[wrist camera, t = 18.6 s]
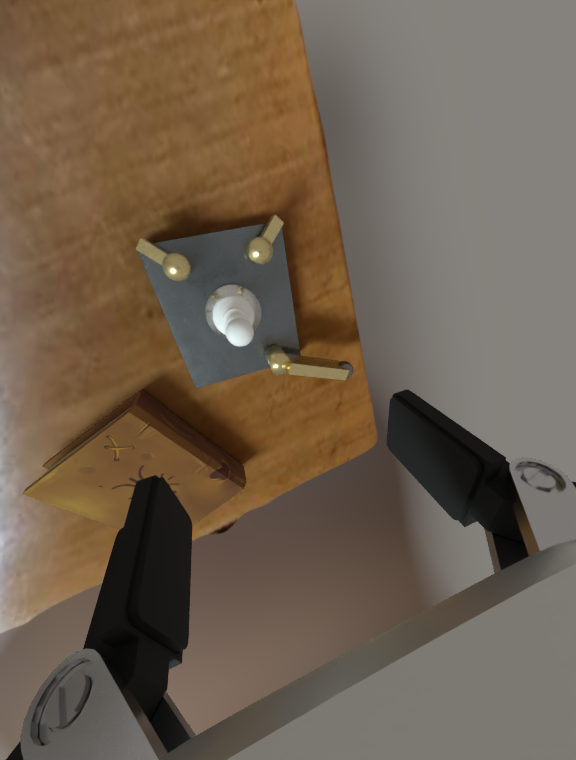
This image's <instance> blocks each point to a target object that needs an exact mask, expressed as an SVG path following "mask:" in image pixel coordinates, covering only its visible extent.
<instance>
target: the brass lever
mask: <svg viewBox="0 0 576 760" xmlns="http://www.w3.org/2000/svg"><path fill="white" fill-rule="evenodd" d="M265 358H266V360H267V362H268V364H269V366H270V368H271V370H272V371H273V373H275V374H277V375H283V374H286V373H288V374H290V375H300V376H310V377H320V378H329V379H339V380H346V379H348V378H350V377H351V375H352V374H353V367H352V365H351V364H350V363H349V362H347V361H341V362H339V361H337V360H329V359H322V358H315V357H307V356H300V355H293V354H285V352H284V351H283V350H282V348H281V347H280V346H277V345H272V346H270V347H268V348H267V350H266V351H265Z"/></svg>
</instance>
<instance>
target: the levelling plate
mask: <svg viewBox="0 0 576 760" xmlns="http://www.w3.org/2000/svg"><path fill="white" fill-rule="evenodd" d="M283 224H284V222H283V221H282V220H280V219H279V218H278V217H277V216H276V215H273V216H271V218H270V219H269V221H268V223H265V224H259V225H253V226H248V227H242V228H237V229H231V230H225V231H220V232H214V233H208V234H203V235H197V236H191V237H186V238H180V239H174V240H169V241H163V242H157V243H151V242H150V241H148V240H147V239H145V238H140V241H139V243H138V245H137V246H136V250H137V251H138V253H139V255H140V258H141V260H142V262H143V265H144V267H145V269H146V272H147V274H148V276H149V279H150V281H151V284H152V286H153V288H154V291H155V293H156V295H157V298H158V300H159V302H160V305H161V307H162V309H163V312H164V314H165V316H166V319H167V321H168V323H169V326H170V328H171V330H172V333H173V335H174V338H175V340H176V342H177V345H178V347H179V349H180V352H181V354H182V356H183V359H184V361H185V363H186V366H187V368H188V370H189V373H190V375H191V377H192V380H193V382H194V384H195V387H196V388H199V387H203V386H206V385H210V384H213V383H217V382H220V381H224V380H227V379H231V378H234V377H238V376H241V375H245V374H249V373H252V372H256V371H259V370H263V369H266V368H270V366H269V364H268V362H267V360H266V358H265V351H266V350H267V348H268V347H270V346H272V345H277V346H280V347H281V348H282V350H283V351H284V352H285V354H293V355H300V348H299V341H298V334H297V328H296V321H295V314H294V307H293V300H292V293H291V286H290V279H289V272H288V266H287V259H286V252H285V245H284V238H283V231H282V226H283ZM228 294H236V295H239V296H242V297H243V298H245V299H246V300H247V301H248V302H249V303H250V305H251V307H252V309H253V311H254V322H253V326H252V327H253V330H254V336H253V339H252V341H251V342H250V343H249V344H247V345H245V346H235V345H233V344H231V343H230V342H229V341H228V339H227V337H226V335H225V334H223V333H221V332H220V331H219V330H218V329H217V327H216V326H215V324H214V321H213V307H214V305H215V303H216V301H217V300H218V299H219V298H220V297H222V296H224V295H228ZM300 356H301V355H300Z"/></svg>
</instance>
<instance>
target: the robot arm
mask: <svg viewBox="0 0 576 760" xmlns="http://www.w3.org/2000/svg"><path fill="white" fill-rule="evenodd" d="M387 446H388V448H389V450H390V451H391V452H392V453H393V454H394V455H395V457H396V458H397V459H398V460H399V461H400V462H401V463H402V464H403V465H404V466H405V467H406V468H407V470H408V471H409V472H410V473H411V474H412V475H413V476H414V477H415V478H416V479H417V480H418V482H419V483H420V484H421V485H422V486H423V487H424V488H425V489H426V490H427V491H428V493H430V494H431V496H432V497H433V498H434V499H435V500H436V501H437V502H438V503H439V505H440V506H441V507H442V508H443V509H444V510H445V511H446V512H447V513H448V514H449V515H450V516H451V517H452V518H453V519H454V520H459V522H460V523H462V525H463V526H464V527H466V526H468V525H470V524H472V523H474V522H476V521H478V522H479V523H480V524H481V525H482V526H483V527H484V529H485V534H486V538H487V542H488V547H489V551H490V556H491V560H492V565H493V569H494V573H495V574H493V575H491V576H489V577H487V578H486V579H484V580H482V581H480V582H478V583H476V584H474V585H472V586H471V587H469V588H467V589H465V590H463V591H461V592H459V593H458V594H455V595H454V596H452V597H450V598H448V599H446V600H444V601H442V602H440V603H439V604H436V605H435V606H433V607H431V608H429V609H427V610H425V611H424V612H422V613H420V614H418V615H416V616H414V617H412V618H410V619H408V620H407V621H405V622H403V623H401V624H399V625H397V626H395V627H393V628H392V629H390V630H388V631H386V632H384V633H382V634H380V635H379V636H377V637H375V638H373V639H371V640H369V641H368V642H366V643H364V644H362V645H360V646H358V647H356V648H354V649H353V650H351V651H349V652H347V653H345V654H343V655H341V656H340V657H338V658H336V659H334V660H332V661H330V662H328V663H327V664H325V665H323V666H321V667H319V668H317V669H316V670H314V671H312V672H310V673H308V674H306V675H304V676H303V677H301V678H299V679H297V680H295V681H294V682H292V683H290V684H288V685H286V686H284V687H283V688H281V689H279V690H277V691H275V692H274V693H271V694H270V695H268V696H266V697H264V698H262V699H260V700H258V701H257V702H255V703H253V704H251V705H249V706H248V707H246V708H244V709H242V710H240V711H239V712H237V713H235V714H234V715H232V716H230V717H228V718H227V719H225V720H223V721H221V722H219V723H218V724H216V725H214V726H212V727H211V728H209V729H207V730H205V731H204V732H202V733H200V734H198V735H197V736H196V734H195V733H194V731H193V730H192V728H191V727H190V725H189V724H188V723H187V721H186V720H185V718H184V717H183V715H182V714H181V713H180V711H179V709H178V708H177V706H176V705H175V703H174V702H173V700H172V699H171V698H170V696H169V695H168V693H167V692H166V690H167V684H168V672H169V669H171V668H172V667H175V666H177V665H179V664H181V663H182V651H183V650H184V649H186V647H187V645H188V637H189V607H190V578H191V549H192V521H191V518H190V516H189V515H188V513H187V512H186V510H185V509H184V507H183V506H182V504H181V503H180V501H179V500H178V498H177V497H176V495H175V494H174V492H173V491H172V489H171V488H170V486H169V485H168V483H167V482H166V480H165V479H164V478H163V477H160V478H159V477H158V476H157V475H153V476H150V477H148V478H145V479H142V480H139V481H137V482H136V485H135V488H134V492H133V495H132V499H131V502H130V506H129V510H128V513H127V517H126V521H125V524H124V527H123V528H121V529H120V530H119V532H118V534H117V536H116V539H115V542H114V546H113V549H112V552H111V556H110V559H109V563H108V566H107V569H106V573H105V576H104V580H103V583H102V587H101V590H100V594H99V597H98V600H97V604H96V607H95V610H94V614H93V617H92V621H91V624H90V628H89V631H88V634H87V638H86V641H85V645H84V648H83V650H80V651H77V652H75V653H74V654H72V655H71V656H69V657H68V658H66V659H65V660H64V661H63V662H62V663H61V664H60V665H59V666H58V667H57V668H56V669H55V670H53V672H52V673H51V674H50V675H49V677H48V678H47V679H46V680H45V682H44V683H43V684H42V686H41V687H40V689H39V691H38V692H37V694H36V696H35V697H34V699H33V701H32V703H31V705H30V707H29V710H28V712H27V715H26V717H25V719H24V723H23V727H22V732H21V736H20V739H21V741H20V742H19V744H18V745H17V746H16V748H15V749H14V750H13V751H12V753H11V754H10V755H9V757H8V758H7V759H6V760H576V482H572V481H571V480H570V479H569V478H568V477H567V475H565V474H564V473H563V472H562V471H561V470H559V469H558V468H556V467H554V466H552V465H550V464H548V463H546V462H543V461H541V460H537V459H533V458H524V457H522V458H517V459H514V460H513V461H511V463H509V462H507V461H506V457H504V456H503V455H501V454H500V453H498V452H497V451H496V450H494V449H493V448H491V447H490V446H489V445H487V444H486V443H484V442H483V441H481V440H480V439H479V438H477V437H476V436H474V435H473V434H471V433H470V432H469V431H467V430H466V429H464V428H463V427H461V426H460V425H459V424H457V423H456V422H454V421H453V420H451V419H450V418H448V417H447V416H446V415H444V414H443V413H441V412H440V411H438V410H437V409H436V408H434V407H433V406H431V405H430V404H428V403H427V402H426V401H424V400H423V399H421V398H420V397H418V396H417V395H416V394H414V393H413V392H411V391H409V390H404V391H401V392H398V393H395V394H394V395H393V397H392V398H391V400H390V407H389V420H388V433H387Z"/></svg>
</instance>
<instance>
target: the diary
mask: <svg viewBox="0 0 576 760" xmlns="http://www.w3.org/2000/svg"><path fill="white" fill-rule="evenodd" d="M42 467H45V468H47V469H49V470H48V471H47V472H46V474H44V475H43V476H42V477H40V478H39V479H38V480H36V481H35V482H34V483H33V484H31V485H30V486H29V487H27V488H26V489H25V491H24V492H23V495H26V496H29V497H32V498H34V499H37V500H40V501H43V502H45V503H48V504H51V505H54V506H56V507H59V508H62V509H65V510H67V511H70V512H73V513H76V514H78V515H81V516H84V517H87V518H89V519H92V520H95V521H98V522H100V523H103V524H106V525H109V526H111V527H114V528H117V529H121V528H123V527H124V524H125V521H126V517H127V513H128V510H129V506H130V502H131V499H132V495H133V492H134V488H135V485H136V482H137V481H139V480H142V479H145V478H148V477H150V476H153V475H157V476H158V477H159V478H160V477H163V478H164V479H165V480H166V482H167V483H168V485H169V486H170V488H171V489H172V491H173V492H174V494H175V495H176V497H177V498H178V500H179V501H180V503H181V504H182V506H183V507H184V509H185V510H186V512H187V513H188V515H189V516H190V518H191V521H192V526H193V525H194V524H196V523H197V522H198V521H200V520H201V519H202V518H204V517H205V516H207V515H208V514H209V513H211V512H212V511H214V510H215V509H216V508H218V507H219V506H221V505H222V504H223V503H225V502H226V501H227V500H229V499H230V498H232V497H233V496H234V495H236V494H237V493H239V492H240V491H241V490H243V489H244V487H245V484H246V477H245V471H244V466H243V465H241V464H240V463H239V462H237V461H236V460H235V459H233V458H232V457H231V456H229V455H228V454H227V453H225V452H224V451H223V450H221V449H220V448H219V447H217V446H216V445H215V444H213V443H212V442H211V441H209V440H208V439H207V438H205V437H204V436H203V435H201V434H200V433H199V432H197V431H196V430H195V429H193V428H192V427H191V426H189V425H188V424H187V423H185V422H184V421H183V420H181V419H180V418H179V417H177V416H176V415H175V414H173V413H172V412H171V411H169V410H168V409H167V408H165V407H164V406H163V405H161V404H160V403H159V402H157V401H156V400H155V399H153V398H152V397H151V396H149V395H148V394H147V393H145V392H144V391H143V390H140V391H139V392H137V393H136V394H135V395H133V396H132V397H131V398H130V399H128V400H127V401H126V402H124V403H123V404H122V405H120V406H119V407H118V408H117V409H115V410H114V411H113V412H111V413H110V414H109V415H107V416H106V417H105V418H104V419H102V420H101V421H100V422H98V423H97V424H96V425H94V426H93V427H92V428H91V429H89V430H88V431H87V432H85V433H84V434H83V435H81V436H80V437H79V438H78V439H76V440H75V441H74V442H72V443H71V444H70V445H68V446H67V447H66V448H65V449H63V450H62V451H61V452H59V453H58V454H57V455H55V456H54V457H53V458H52V459H50V460H49V461H48V462H46V463H45V464H44V465H43V466H42Z"/></svg>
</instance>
